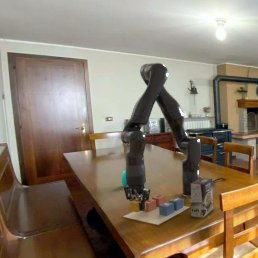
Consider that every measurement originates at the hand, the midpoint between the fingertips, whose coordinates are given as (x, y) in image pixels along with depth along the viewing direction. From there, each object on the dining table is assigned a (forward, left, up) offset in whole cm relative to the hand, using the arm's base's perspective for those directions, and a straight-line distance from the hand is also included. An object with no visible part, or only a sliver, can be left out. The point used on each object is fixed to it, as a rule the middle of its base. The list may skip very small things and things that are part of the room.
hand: (138, 209), depth 112 cm
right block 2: (-12, +11, -3) cm, 16 cm away
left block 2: (-12, 0, -3) cm, 12 cm away
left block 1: (-6, 0, -3) cm, 6 cm away
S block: (0, 0, 0) cm, 0 cm away
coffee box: (-12, +26, -3) cm, 29 cm away
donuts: (-29, -40, -3) cm, 50 cm away
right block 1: (-6, +11, -3) cm, 13 cm away
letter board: (-6, +5, -3) cm, 9 cm away
